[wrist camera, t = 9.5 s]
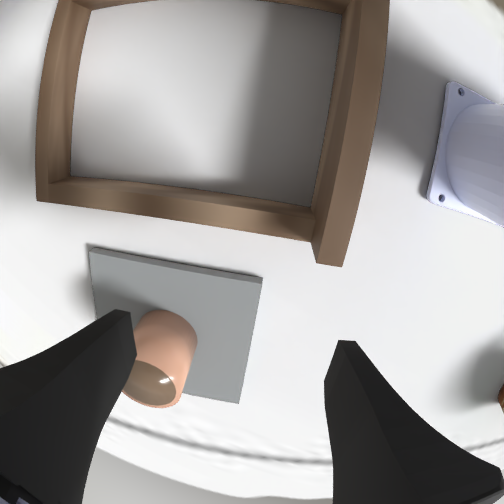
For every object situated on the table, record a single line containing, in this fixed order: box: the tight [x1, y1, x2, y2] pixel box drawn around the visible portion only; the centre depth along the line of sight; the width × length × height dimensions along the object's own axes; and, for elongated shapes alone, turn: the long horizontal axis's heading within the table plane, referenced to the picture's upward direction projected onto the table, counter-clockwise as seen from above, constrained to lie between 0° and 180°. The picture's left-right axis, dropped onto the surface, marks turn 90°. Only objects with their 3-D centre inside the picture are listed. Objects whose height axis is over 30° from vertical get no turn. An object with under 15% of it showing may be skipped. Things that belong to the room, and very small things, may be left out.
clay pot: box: [122, 310, 198, 408], centre depth 18 cm, size 5×5×5 cm
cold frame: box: [35, 0, 390, 267], centre depth 13 cm, size 18×14×5 cm
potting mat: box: [89, 248, 263, 404], centre depth 21 cm, size 12×12×1 cm
